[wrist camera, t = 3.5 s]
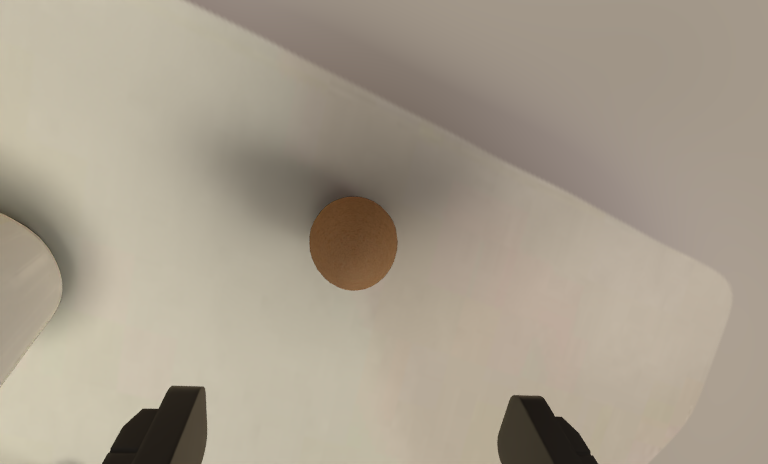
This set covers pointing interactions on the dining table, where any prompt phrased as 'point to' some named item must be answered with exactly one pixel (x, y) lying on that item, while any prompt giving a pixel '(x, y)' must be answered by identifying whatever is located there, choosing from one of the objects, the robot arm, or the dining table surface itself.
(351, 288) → the egg
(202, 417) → the robot arm
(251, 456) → the dining table surface
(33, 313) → the mug
